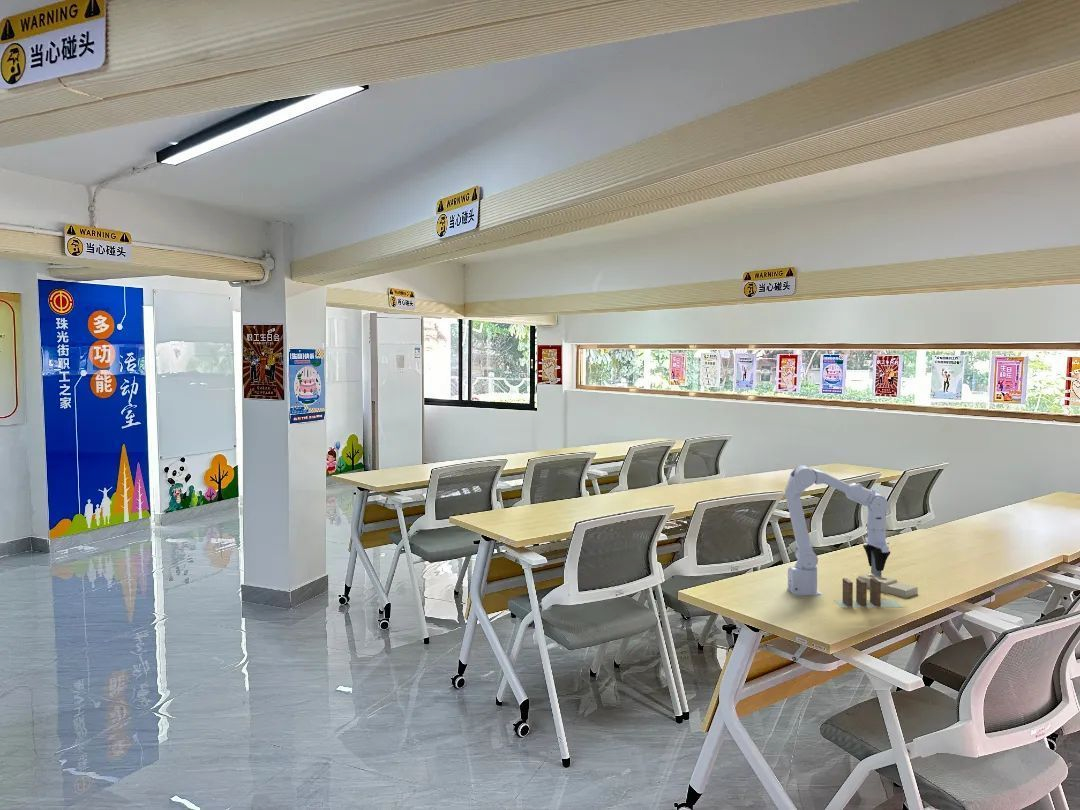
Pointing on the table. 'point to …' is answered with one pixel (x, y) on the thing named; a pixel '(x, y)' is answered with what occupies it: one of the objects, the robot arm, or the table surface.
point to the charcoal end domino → (873, 568)
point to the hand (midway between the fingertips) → (876, 568)
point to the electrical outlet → (891, 585)
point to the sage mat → (883, 603)
